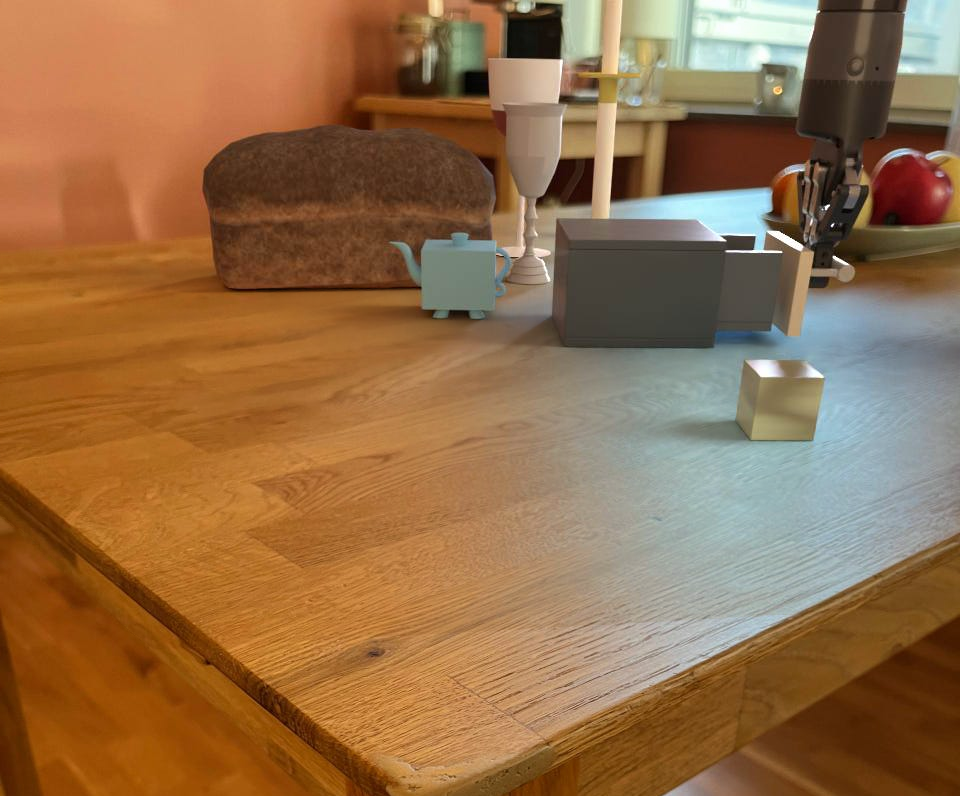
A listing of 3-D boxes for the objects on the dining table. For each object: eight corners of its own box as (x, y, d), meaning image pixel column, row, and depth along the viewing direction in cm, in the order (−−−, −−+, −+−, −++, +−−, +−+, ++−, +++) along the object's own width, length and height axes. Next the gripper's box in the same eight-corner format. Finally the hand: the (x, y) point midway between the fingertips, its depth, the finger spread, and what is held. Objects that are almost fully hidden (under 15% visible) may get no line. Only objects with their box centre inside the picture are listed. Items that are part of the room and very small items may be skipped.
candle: (555, 232, 148) (570, -82, 129) (621, 231, 150) (645, -80, 131) (573, 243, 139) (591, -91, 121) (643, 242, 141) (672, -88, 122)
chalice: (485, 278, 118) (488, 103, 109) (528, 271, 122) (534, 101, 113) (528, 288, 113) (534, 106, 104) (571, 281, 117) (581, 105, 108)
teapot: (388, 318, 100) (385, 237, 96) (394, 304, 105) (391, 227, 101) (509, 320, 100) (511, 239, 96) (509, 306, 105) (511, 229, 101)
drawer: (815, 309, 102) (828, 231, 98) (854, 337, 92) (870, 252, 88) (642, 307, 101) (649, 229, 98) (662, 335, 92) (671, 250, 88)
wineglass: (563, 249, 135) (573, 59, 124) (536, 261, 128) (544, 59, 117) (503, 244, 138) (507, 58, 127) (473, 255, 131) (475, 58, 120)
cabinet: (686, 316, 103) (696, 219, 98) (713, 348, 92) (727, 241, 87) (551, 314, 102) (556, 218, 98) (563, 347, 91) (569, 239, 87)
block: (795, 420, 74) (805, 360, 72) (813, 440, 70) (825, 377, 68) (735, 420, 74) (743, 359, 72) (750, 440, 70) (760, 377, 68)
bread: (501, 289, 113) (505, 130, 105) (207, 293, 109) (187, 128, 101) (483, 265, 125) (485, 120, 117) (219, 267, 121) (202, 118, 113)
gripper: (924, 78, 81) (878, 302, 90) (865, 74, 92) (830, 273, 101) (831, 76, 81) (794, 301, 89) (784, 72, 92) (755, 272, 101)
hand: (813, 286), depth 95 cm, fingers closed
